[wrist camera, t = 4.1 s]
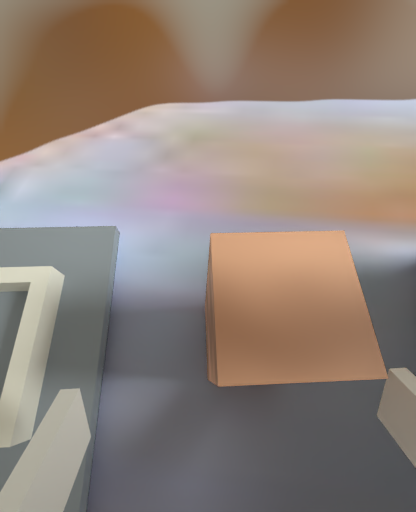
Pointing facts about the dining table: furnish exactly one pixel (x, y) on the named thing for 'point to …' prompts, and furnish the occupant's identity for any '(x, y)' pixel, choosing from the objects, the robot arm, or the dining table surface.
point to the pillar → (286, 311)
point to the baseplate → (52, 332)
